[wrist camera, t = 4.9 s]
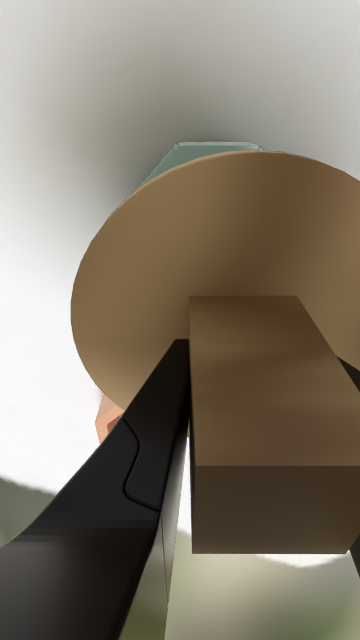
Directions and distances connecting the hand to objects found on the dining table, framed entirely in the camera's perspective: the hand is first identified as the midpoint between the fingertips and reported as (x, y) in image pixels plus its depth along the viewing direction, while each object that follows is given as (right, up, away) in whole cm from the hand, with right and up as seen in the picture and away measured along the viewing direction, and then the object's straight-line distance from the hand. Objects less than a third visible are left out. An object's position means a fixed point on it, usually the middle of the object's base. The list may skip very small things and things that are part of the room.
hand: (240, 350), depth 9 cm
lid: (0, +1, +1) cm, 1 cm away
